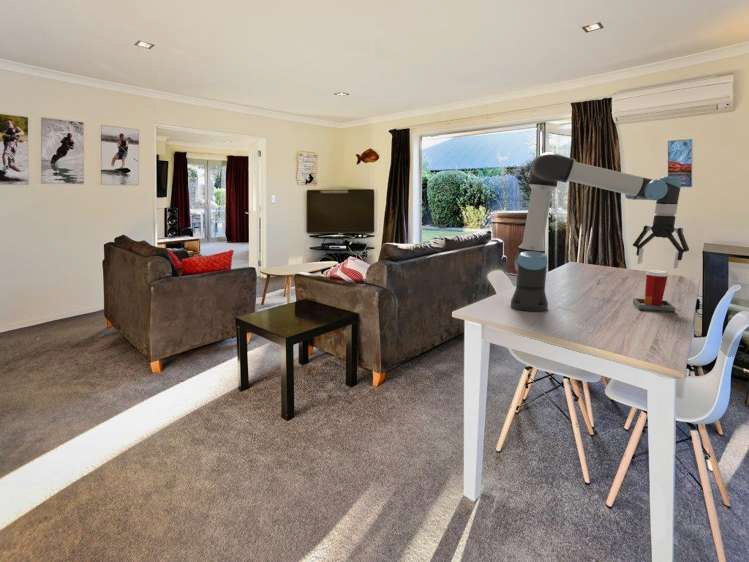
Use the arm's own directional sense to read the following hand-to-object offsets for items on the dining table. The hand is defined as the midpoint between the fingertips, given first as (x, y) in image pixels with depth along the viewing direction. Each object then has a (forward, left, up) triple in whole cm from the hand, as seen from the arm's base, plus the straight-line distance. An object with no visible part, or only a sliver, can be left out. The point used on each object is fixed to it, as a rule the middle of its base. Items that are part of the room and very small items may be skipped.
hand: (657, 265), depth 187 cm
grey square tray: (0, 0, -18) cm, 18 cm away
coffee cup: (0, 0, -18) cm, 18 cm away
